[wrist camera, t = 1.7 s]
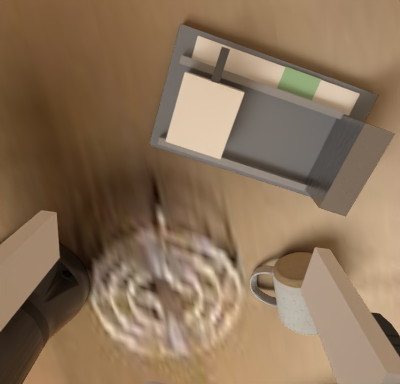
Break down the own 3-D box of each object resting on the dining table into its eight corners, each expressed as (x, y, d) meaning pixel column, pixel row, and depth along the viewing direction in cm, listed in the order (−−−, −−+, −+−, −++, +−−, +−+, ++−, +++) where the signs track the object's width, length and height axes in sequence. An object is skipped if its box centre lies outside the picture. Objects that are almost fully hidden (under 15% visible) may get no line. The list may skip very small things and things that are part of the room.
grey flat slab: (299, 182, 37) (319, 207, 30) (334, 112, 33) (365, 123, 26) (322, 189, 37) (345, 216, 30) (359, 120, 33) (395, 133, 27)
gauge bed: (151, 142, 35) (147, 147, 33) (181, 25, 30) (179, 22, 28) (318, 196, 37) (324, 203, 35) (373, 94, 32) (383, 96, 30)
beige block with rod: (169, 134, 33) (165, 141, 30) (196, 39, 29) (194, 36, 26) (219, 150, 34) (220, 159, 31) (252, 59, 30) (256, 59, 27)
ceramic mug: (319, 243, 40) (341, 281, 33) (326, 289, 43) (347, 333, 36) (243, 258, 42) (248, 297, 35) (254, 301, 45) (261, 345, 38)
